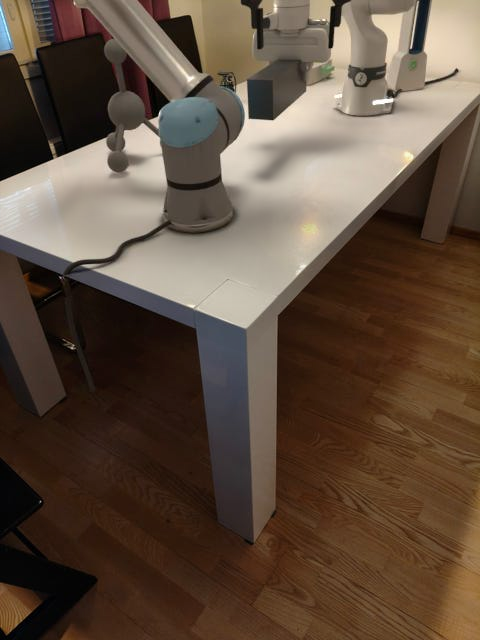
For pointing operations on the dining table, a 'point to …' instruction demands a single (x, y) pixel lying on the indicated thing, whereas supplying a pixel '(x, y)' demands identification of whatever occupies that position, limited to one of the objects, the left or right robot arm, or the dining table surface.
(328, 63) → the decorative block
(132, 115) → the molecular model
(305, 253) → the dining table surface
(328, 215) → the dining table surface
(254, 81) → the box
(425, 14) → the electronic device
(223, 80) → the grenade
